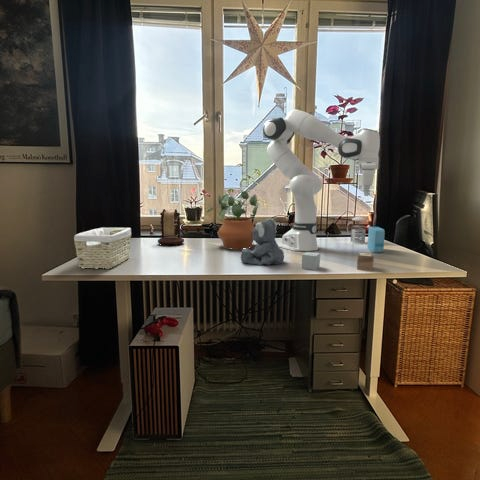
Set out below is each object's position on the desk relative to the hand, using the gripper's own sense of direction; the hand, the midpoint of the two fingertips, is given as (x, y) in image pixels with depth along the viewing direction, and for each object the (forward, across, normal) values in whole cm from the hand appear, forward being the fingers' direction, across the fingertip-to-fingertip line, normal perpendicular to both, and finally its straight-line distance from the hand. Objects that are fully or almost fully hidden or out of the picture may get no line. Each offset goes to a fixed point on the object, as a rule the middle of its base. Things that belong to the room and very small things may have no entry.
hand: (366, 195), depth 164 cm
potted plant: (+29, -3, -68) cm, 74 cm away
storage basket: (+29, +49, -109) cm, 123 cm away
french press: (+29, -36, -2) cm, 47 cm away
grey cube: (+29, +29, -22) cm, 47 cm away
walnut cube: (+23, +24, 0) cm, 33 cm away
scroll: (+29, 0, -103) cm, 107 cm away
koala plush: (+29, +25, -42) cm, 57 cm away
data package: (+29, -16, +7) cm, 34 cm away
